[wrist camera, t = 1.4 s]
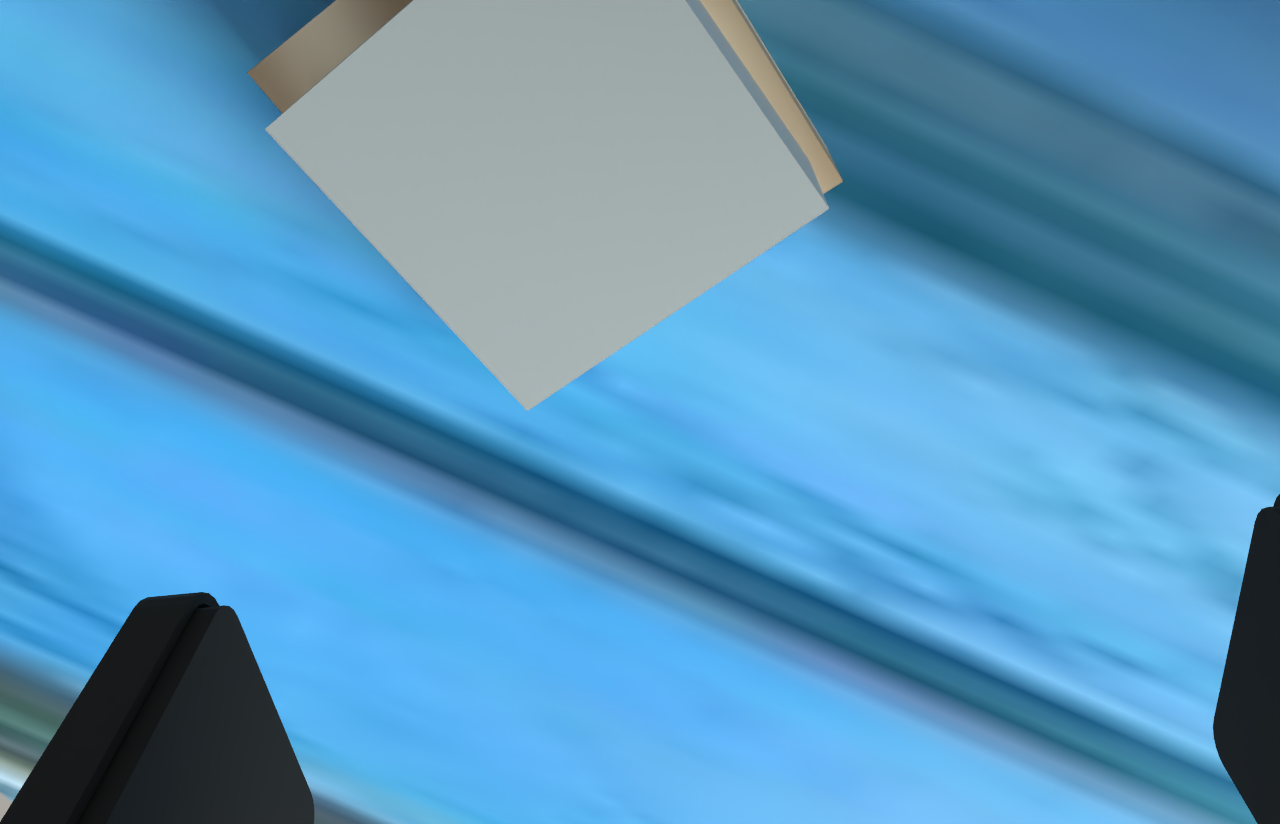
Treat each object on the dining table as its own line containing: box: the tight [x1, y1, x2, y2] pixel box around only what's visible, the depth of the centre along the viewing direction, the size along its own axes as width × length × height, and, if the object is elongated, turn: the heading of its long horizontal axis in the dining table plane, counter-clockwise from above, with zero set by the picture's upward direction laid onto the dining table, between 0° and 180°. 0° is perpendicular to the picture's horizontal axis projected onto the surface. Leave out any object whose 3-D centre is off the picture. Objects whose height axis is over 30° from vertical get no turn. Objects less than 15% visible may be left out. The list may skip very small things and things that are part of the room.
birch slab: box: [247, 0, 843, 194], centre depth 32 cm, size 12×12×4 cm
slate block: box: [265, 0, 829, 411], centre depth 28 cm, size 10×10×4 cm
